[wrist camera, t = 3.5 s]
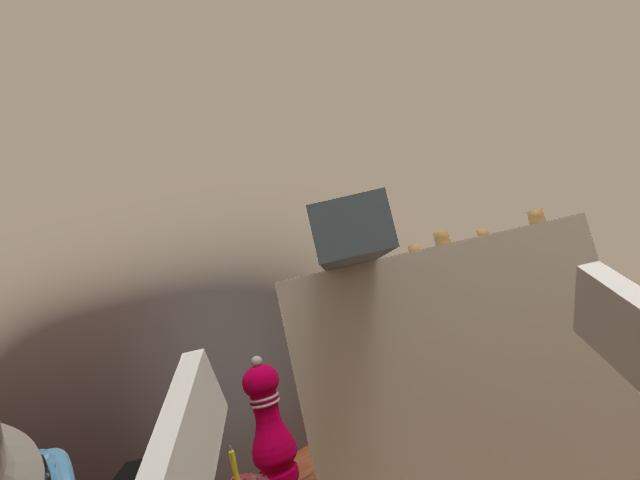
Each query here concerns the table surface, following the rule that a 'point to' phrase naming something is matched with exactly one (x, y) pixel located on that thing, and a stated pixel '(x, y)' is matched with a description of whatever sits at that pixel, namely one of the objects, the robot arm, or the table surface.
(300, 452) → the table surface
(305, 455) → the table surface
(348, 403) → the plinth
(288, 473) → the pepper mill
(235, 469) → the cupcake
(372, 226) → the batten
